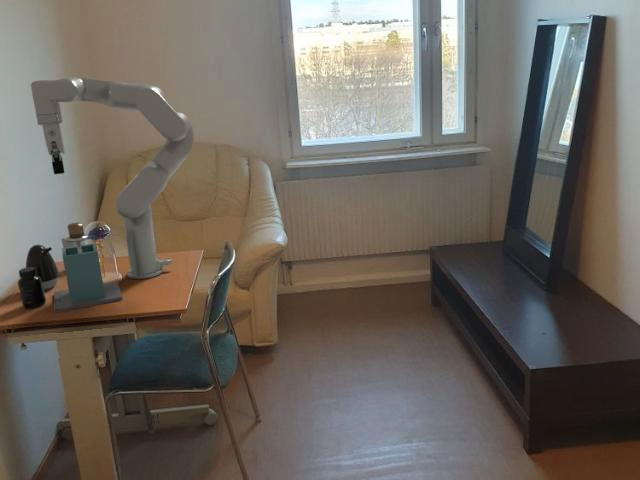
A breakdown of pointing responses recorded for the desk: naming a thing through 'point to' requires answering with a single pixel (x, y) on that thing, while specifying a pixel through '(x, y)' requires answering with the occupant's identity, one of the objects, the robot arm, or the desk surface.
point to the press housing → (84, 281)
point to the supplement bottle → (31, 288)
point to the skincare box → (69, 243)
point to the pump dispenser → (43, 265)
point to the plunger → (76, 234)
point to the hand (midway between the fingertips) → (59, 171)
